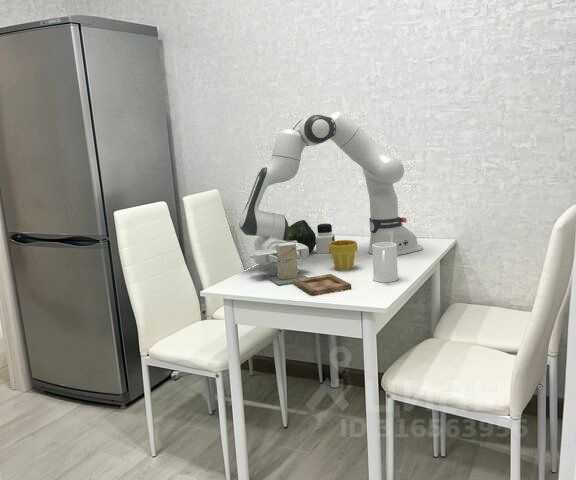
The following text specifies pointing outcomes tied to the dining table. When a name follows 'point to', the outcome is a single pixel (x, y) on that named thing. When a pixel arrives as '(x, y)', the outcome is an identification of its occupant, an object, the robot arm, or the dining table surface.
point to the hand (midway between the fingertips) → (288, 258)
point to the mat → (285, 281)
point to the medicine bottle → (324, 238)
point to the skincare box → (287, 260)
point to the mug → (385, 262)
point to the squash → (302, 234)
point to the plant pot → (343, 253)
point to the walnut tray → (321, 284)
